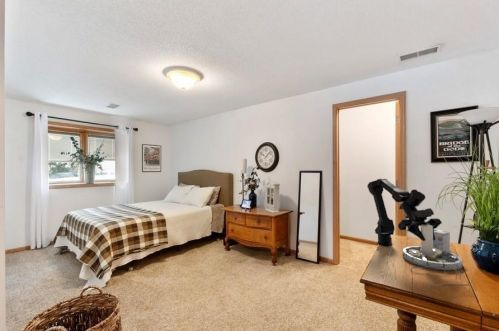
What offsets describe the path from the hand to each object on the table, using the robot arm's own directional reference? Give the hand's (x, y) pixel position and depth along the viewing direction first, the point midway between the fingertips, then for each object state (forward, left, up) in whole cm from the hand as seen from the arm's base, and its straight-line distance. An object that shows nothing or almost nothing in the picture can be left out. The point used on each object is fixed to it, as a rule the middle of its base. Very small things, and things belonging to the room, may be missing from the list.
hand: (429, 240), depth 110 cm
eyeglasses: (+7, -9, -14) cm, 18 cm away
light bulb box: (-9, +32, -14) cm, 36 cm away
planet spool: (-1, +1, -7) cm, 7 cm away
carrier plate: (-4, +11, -13) cm, 18 cm away
